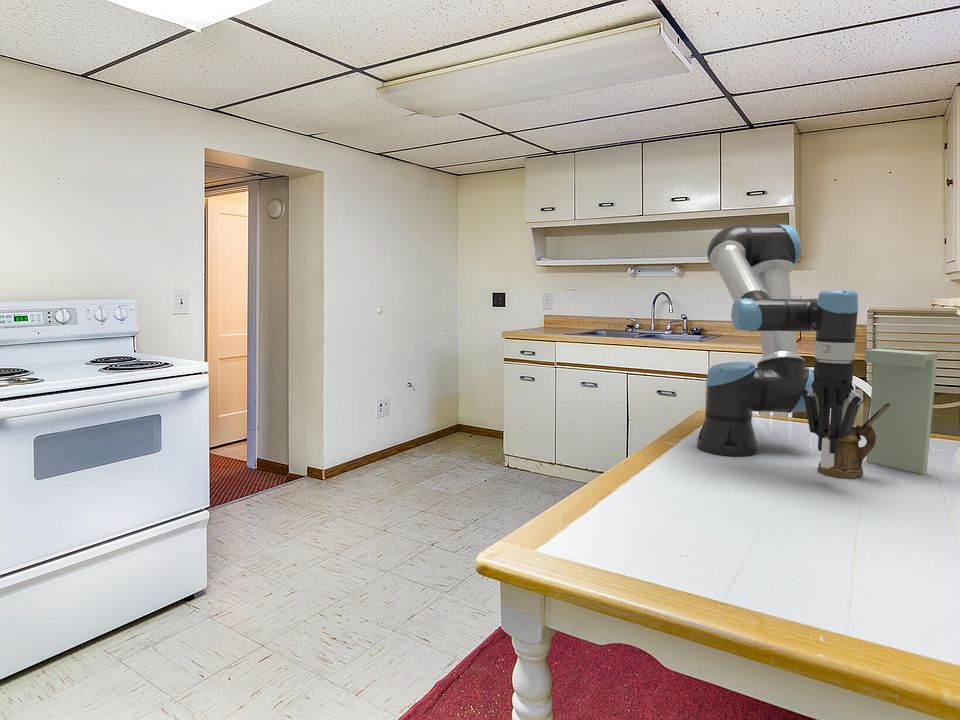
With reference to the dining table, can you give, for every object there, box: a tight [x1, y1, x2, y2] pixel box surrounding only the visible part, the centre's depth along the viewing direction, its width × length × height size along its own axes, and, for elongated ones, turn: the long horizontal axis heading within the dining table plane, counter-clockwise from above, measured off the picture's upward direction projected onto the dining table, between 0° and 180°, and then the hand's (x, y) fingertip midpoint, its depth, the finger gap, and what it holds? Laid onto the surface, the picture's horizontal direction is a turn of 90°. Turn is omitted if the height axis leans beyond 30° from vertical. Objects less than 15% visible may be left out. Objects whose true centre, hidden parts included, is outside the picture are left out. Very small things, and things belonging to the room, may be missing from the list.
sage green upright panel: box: [864, 348, 939, 475], centre depth 147 cm, size 12×6×28 cm, turn 33°
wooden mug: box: [817, 403, 890, 479], centre depth 143 cm, size 9×14×18 cm, turn 45°
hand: (827, 466), depth 137 cm, fingers closed
